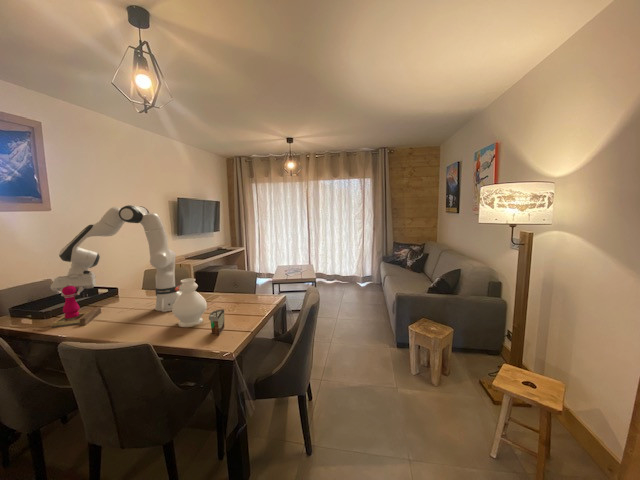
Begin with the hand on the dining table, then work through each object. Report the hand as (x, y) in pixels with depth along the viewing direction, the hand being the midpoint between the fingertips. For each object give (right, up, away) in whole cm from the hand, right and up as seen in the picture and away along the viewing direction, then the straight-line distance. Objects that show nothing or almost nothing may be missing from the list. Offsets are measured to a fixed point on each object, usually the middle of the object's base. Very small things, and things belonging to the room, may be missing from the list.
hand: (70, 295), depth 153 cm
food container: (+92, -16, -15) cm, 95 cm away
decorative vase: (+73, -15, -3) cm, 74 cm away
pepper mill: (0, -13, +1) cm, 13 cm away
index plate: (0, -16, +1) cm, 16 cm away
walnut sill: (+9, -15, +4) cm, 18 cm away
